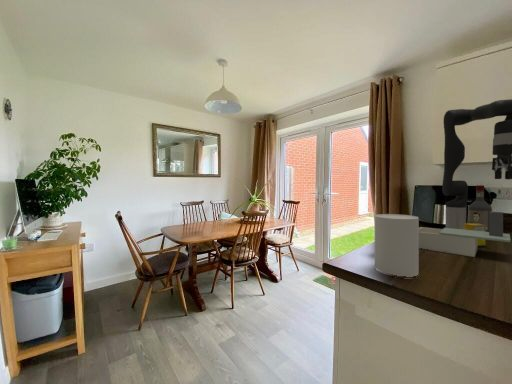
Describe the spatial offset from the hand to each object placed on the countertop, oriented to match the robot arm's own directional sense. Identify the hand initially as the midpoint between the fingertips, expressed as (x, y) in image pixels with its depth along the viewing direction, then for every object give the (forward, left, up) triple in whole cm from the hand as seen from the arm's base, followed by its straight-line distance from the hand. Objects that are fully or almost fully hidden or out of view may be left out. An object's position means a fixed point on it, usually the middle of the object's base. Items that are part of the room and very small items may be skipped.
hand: (503, 179), depth 104 cm
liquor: (-44, +8, -33) cm, 56 cm away
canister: (+49, -48, -33) cm, 76 cm away
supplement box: (-5, -8, -33) cm, 35 cm away
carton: (+7, -23, -33) cm, 41 cm away
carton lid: (+11, -14, -25) cm, 31 cm away
